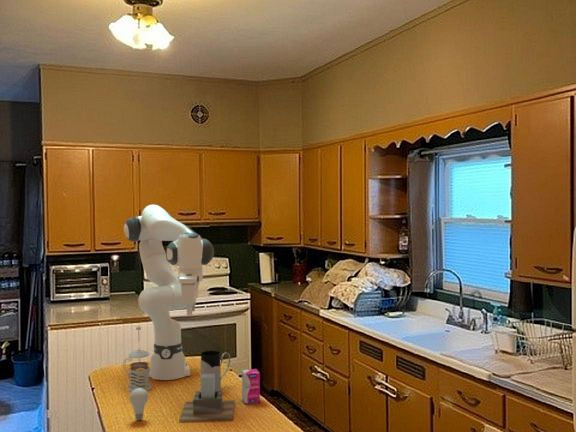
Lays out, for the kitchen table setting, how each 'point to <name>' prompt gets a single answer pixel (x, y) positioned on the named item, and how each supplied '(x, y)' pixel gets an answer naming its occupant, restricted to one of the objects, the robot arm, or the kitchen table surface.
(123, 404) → the kitchen table surface
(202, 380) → the peg
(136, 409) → the lightbulb
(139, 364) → the french press
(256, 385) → the supplement box
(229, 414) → the socket
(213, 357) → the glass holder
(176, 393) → the kitchen table surface
